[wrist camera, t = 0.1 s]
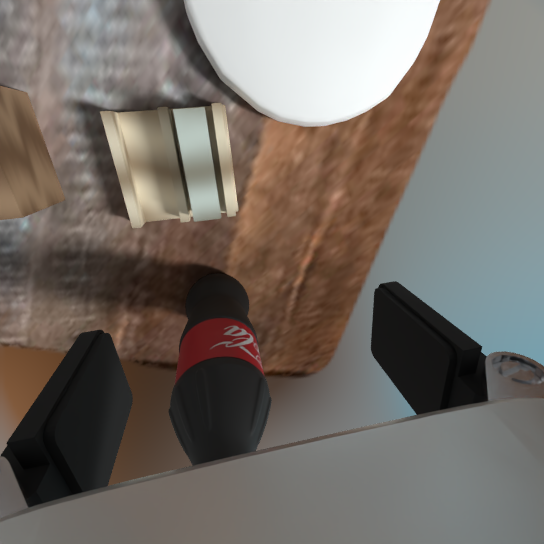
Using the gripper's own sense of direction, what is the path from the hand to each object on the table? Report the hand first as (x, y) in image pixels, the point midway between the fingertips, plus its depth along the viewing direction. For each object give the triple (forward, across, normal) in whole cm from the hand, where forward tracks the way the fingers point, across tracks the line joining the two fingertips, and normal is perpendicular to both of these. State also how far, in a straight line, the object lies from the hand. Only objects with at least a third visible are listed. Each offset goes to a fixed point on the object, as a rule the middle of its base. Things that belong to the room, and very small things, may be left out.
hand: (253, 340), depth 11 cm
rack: (+31, +5, -4) cm, 32 cm away
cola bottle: (+31, +3, +14) cm, 35 cm away
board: (+31, +20, -7) cm, 38 cm away
